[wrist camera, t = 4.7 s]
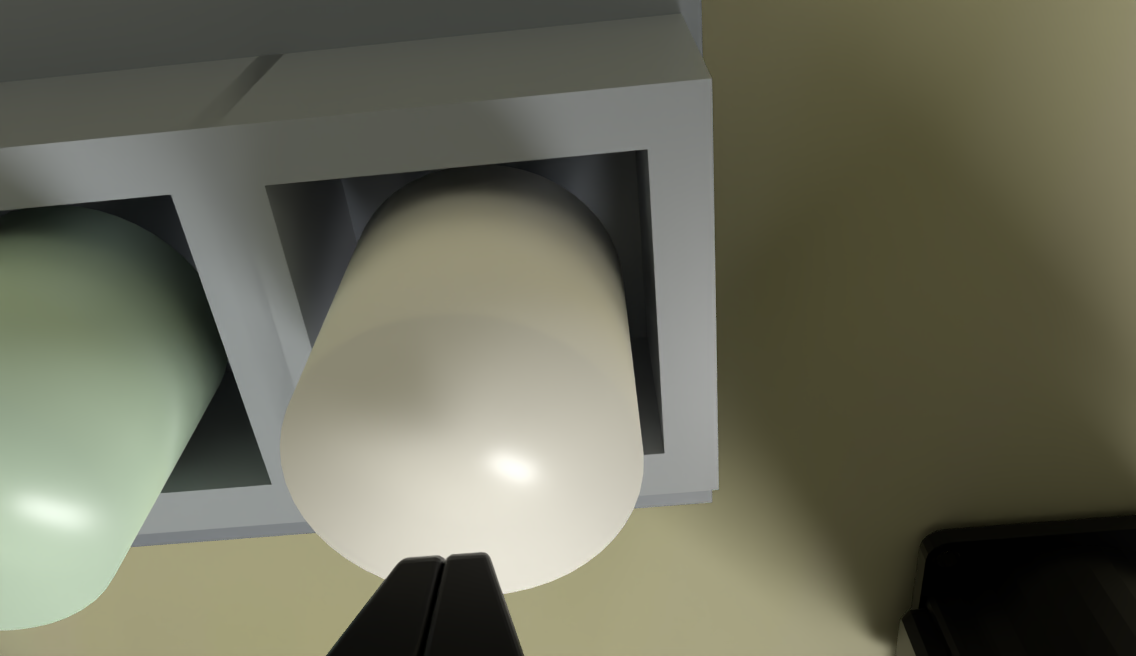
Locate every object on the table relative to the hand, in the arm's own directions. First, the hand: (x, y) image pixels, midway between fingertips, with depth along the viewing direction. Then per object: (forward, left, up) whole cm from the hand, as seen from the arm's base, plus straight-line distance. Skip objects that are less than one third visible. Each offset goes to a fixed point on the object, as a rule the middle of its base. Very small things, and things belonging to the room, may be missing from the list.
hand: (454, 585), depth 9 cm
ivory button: (0, 0, -6) cm, 6 cm away
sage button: (+6, 0, -6) cm, 8 cm away
